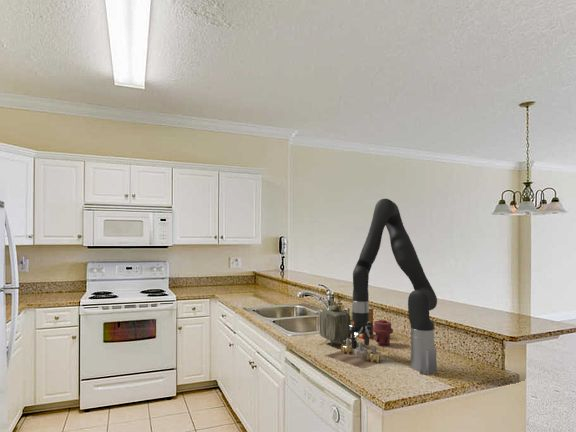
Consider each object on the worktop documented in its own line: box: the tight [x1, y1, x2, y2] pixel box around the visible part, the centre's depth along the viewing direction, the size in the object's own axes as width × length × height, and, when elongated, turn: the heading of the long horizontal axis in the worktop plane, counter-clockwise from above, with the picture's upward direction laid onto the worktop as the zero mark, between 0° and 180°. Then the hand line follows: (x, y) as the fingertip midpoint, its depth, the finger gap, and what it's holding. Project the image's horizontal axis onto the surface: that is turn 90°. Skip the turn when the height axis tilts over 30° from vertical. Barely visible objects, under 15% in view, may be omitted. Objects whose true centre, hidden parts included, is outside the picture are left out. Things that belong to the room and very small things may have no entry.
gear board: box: [324, 338, 387, 369], centre depth 174 cm, size 22×16×7 cm
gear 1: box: [340, 340, 354, 354], centre depth 182 cm, size 6×6×5 cm
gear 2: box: [367, 350, 382, 364], centre depth 170 cm, size 6×6×3 cm
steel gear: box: [354, 347, 369, 358], centre depth 176 cm, size 6×6×3 cm
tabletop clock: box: [318, 295, 352, 347], centre depth 195 cm, size 14×9×25 cm, turn 33°
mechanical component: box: [373, 319, 394, 347], centre depth 198 cm, size 12×10×10 cm
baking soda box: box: [351, 307, 374, 340], centre depth 215 cm, size 10×6×16 cm
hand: (360, 346), depth 176 cm, fingers open, 8 cm apart
